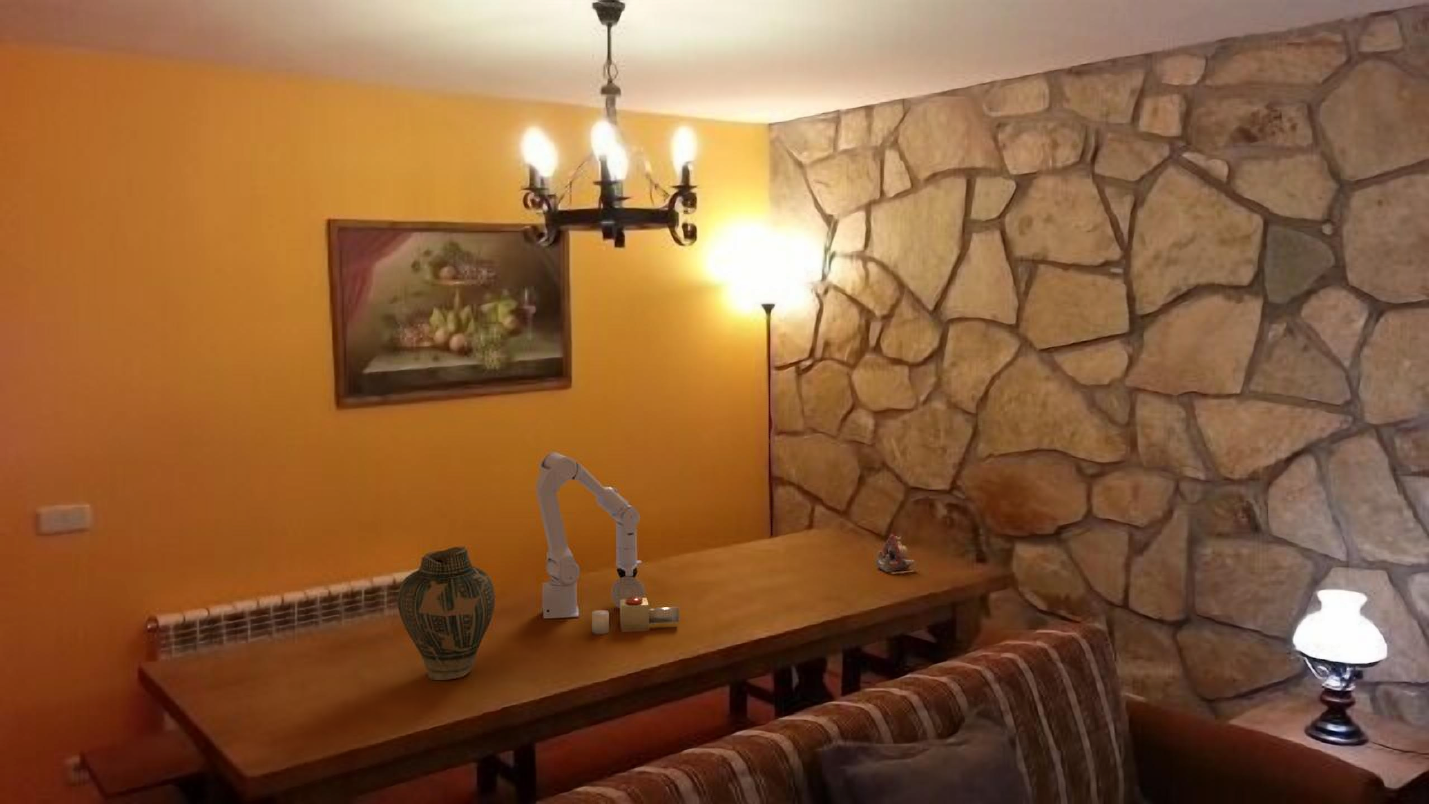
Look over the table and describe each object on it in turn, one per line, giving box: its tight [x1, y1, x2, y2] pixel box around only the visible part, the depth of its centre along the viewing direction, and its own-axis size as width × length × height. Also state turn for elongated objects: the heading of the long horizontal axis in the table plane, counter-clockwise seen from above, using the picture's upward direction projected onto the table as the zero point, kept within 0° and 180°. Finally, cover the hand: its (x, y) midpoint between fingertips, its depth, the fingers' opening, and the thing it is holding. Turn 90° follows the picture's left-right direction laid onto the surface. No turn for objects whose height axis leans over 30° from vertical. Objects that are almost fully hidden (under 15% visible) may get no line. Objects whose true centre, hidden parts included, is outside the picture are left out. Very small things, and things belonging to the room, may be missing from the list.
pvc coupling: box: [591, 609, 610, 635], centre depth 299 cm, size 4×4×5 cm
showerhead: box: [610, 576, 646, 609], centre depth 319 cm, size 9×7×10 cm
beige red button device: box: [619, 597, 680, 633], centre depth 304 cm, size 15×11×8 cm
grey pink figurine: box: [875, 533, 916, 575], centre depth 356 cm, size 11×11×12 cm
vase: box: [397, 546, 496, 681], centre depth 268 cm, size 22×22×30 cm
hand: (627, 593), depth 323 cm, fingers closed
